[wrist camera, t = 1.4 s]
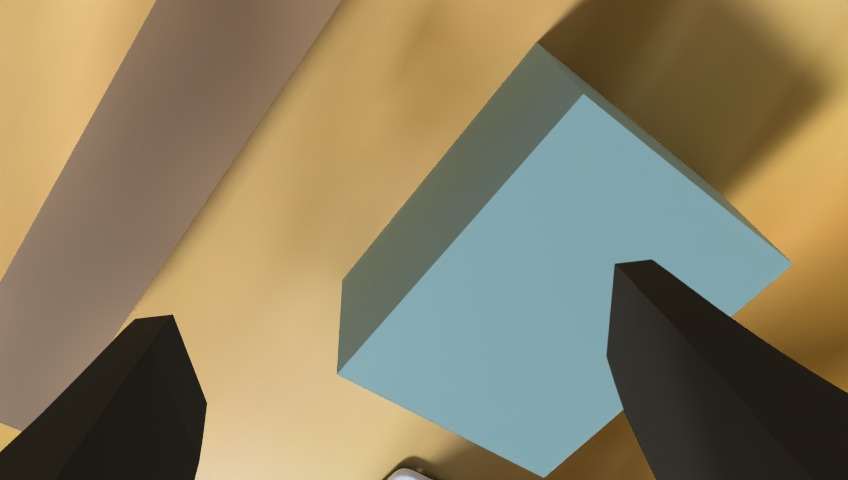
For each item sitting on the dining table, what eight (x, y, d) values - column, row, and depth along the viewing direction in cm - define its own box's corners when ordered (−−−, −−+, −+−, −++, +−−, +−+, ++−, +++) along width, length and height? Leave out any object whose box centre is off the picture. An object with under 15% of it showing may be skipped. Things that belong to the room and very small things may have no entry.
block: (710, 184, 22) (792, 264, 18) (514, 373, 26) (543, 477, 21) (535, 40, 19) (583, 93, 15) (342, 276, 23) (336, 374, 19)
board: (571, -369, 14) (645, -451, 11) (98, 342, 23) (44, 440, 19) (466, -491, 13) (507, -633, 10) (12, 302, 22) (-64, 397, 18)
